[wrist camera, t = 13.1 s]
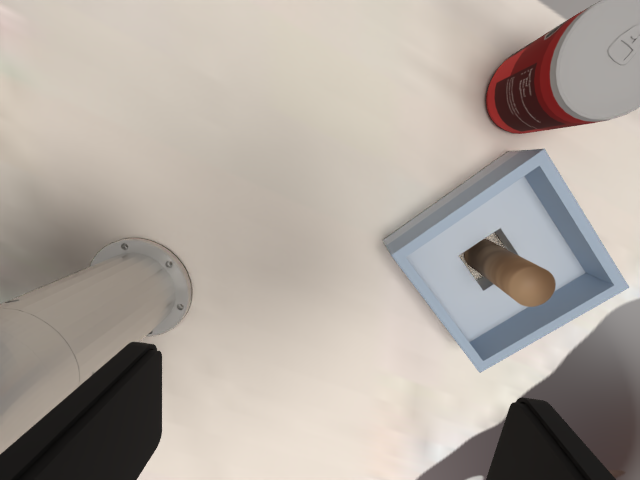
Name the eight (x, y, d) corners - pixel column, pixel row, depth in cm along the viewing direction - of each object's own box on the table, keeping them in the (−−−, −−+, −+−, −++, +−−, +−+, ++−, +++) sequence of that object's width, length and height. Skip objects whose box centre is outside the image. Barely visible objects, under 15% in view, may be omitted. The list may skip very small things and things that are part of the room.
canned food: (578, 65, 31) (706, 12, 20) (538, 145, 33) (635, 136, 22) (506, 38, 30) (596, -29, 20) (470, 120, 32) (535, 99, 22)
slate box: (458, 341, 38) (479, 372, 33) (382, 240, 36) (391, 255, 30) (581, 267, 35) (629, 287, 30) (507, 151, 33) (544, 148, 27)
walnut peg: (474, 273, 36) (525, 314, 27) (458, 250, 36) (503, 283, 26) (501, 256, 36) (563, 291, 26) (485, 232, 35) (542, 259, 25)
